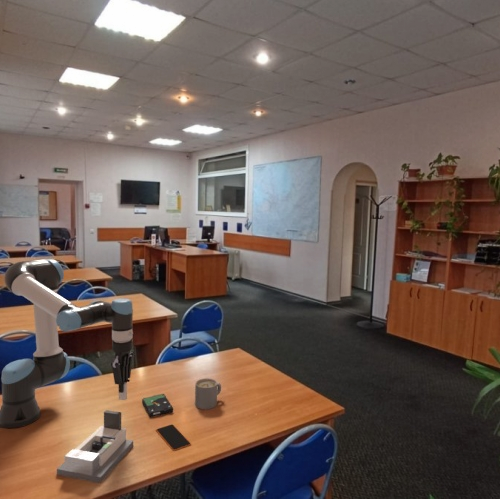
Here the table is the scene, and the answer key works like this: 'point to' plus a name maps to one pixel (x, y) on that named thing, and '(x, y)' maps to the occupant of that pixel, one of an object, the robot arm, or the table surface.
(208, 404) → the coffee mug
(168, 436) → the smartphone
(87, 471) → the brushed metal slab
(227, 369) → the table surface
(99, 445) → the dark grey angular piece
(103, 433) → the plunger
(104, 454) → the bench
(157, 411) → the disk drive
